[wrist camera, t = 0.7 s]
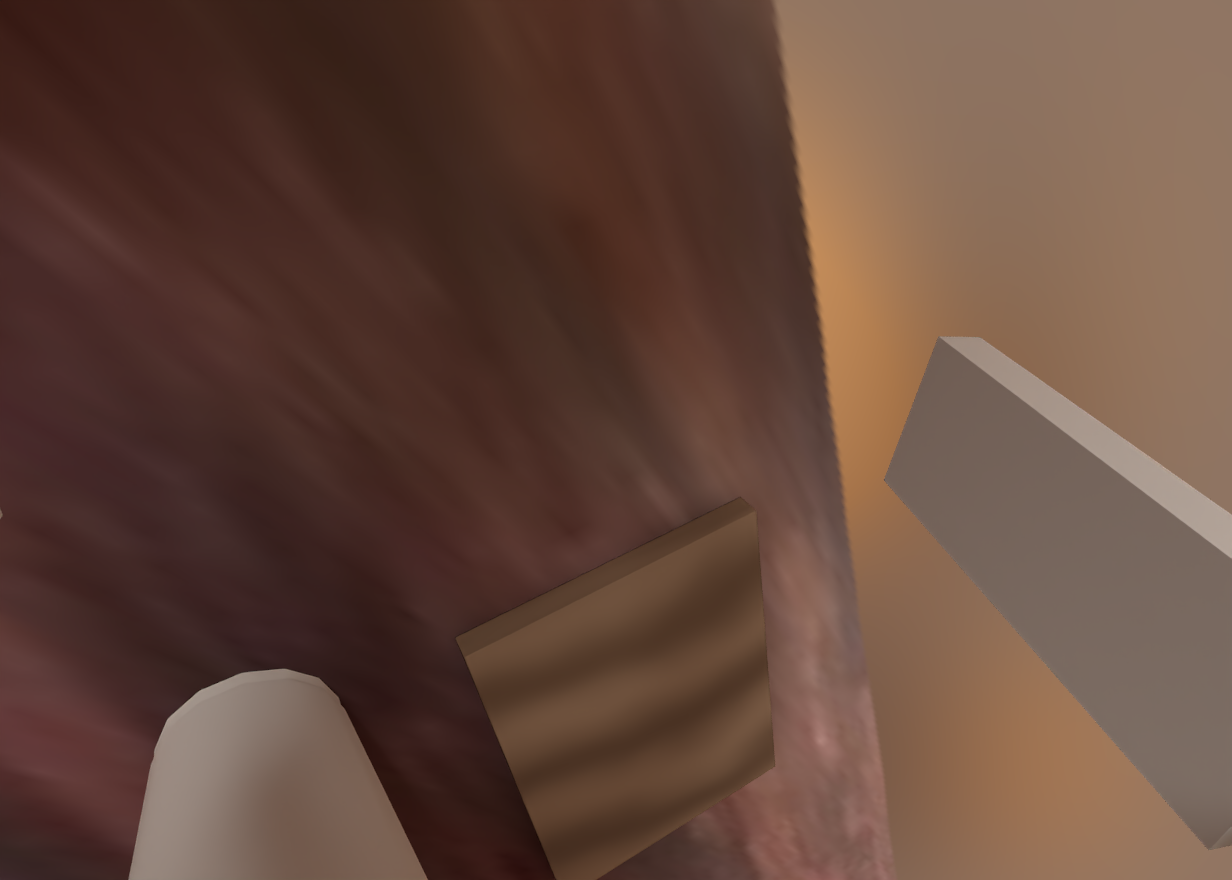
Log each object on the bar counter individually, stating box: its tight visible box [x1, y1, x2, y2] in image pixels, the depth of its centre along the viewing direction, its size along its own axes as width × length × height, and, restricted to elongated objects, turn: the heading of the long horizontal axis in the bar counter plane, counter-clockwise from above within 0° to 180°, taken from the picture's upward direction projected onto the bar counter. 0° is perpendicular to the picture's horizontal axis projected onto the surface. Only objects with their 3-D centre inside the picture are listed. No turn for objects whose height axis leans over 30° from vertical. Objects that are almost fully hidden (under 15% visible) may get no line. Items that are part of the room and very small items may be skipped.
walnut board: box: [455, 497, 775, 880], centre depth 38 cm, size 20×14×1 cm
